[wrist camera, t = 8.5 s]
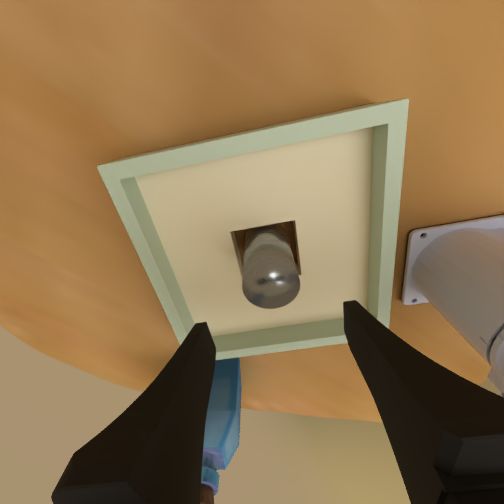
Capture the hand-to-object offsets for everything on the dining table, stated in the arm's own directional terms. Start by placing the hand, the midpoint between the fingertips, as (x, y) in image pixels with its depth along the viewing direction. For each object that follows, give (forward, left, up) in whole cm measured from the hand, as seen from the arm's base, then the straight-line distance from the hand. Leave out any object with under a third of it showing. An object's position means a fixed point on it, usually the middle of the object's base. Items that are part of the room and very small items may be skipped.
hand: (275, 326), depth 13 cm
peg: (0, -1, -10) cm, 10 cm away
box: (0, 0, -10) cm, 10 cm away
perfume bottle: (+9, +16, -10) cm, 21 cm away
